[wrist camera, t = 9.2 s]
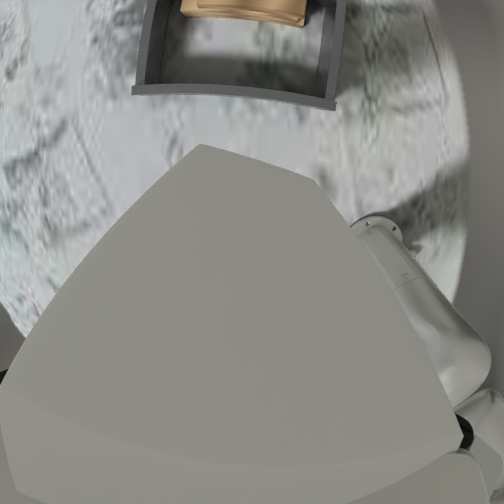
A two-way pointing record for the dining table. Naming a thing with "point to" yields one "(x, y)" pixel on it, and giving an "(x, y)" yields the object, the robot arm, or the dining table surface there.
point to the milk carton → (223, 356)
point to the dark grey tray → (322, 95)
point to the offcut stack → (249, 10)
